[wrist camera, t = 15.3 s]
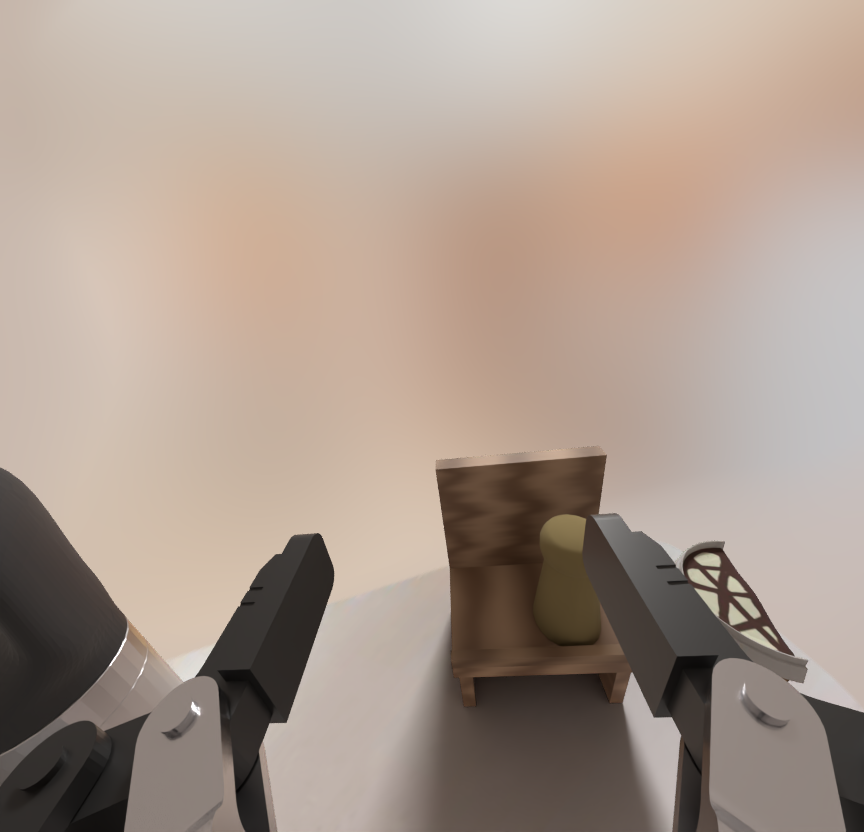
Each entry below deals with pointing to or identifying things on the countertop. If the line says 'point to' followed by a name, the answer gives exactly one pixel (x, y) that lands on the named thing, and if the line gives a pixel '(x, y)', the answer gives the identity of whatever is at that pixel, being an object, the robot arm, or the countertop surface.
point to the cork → (566, 586)
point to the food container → (738, 609)
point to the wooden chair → (516, 564)
